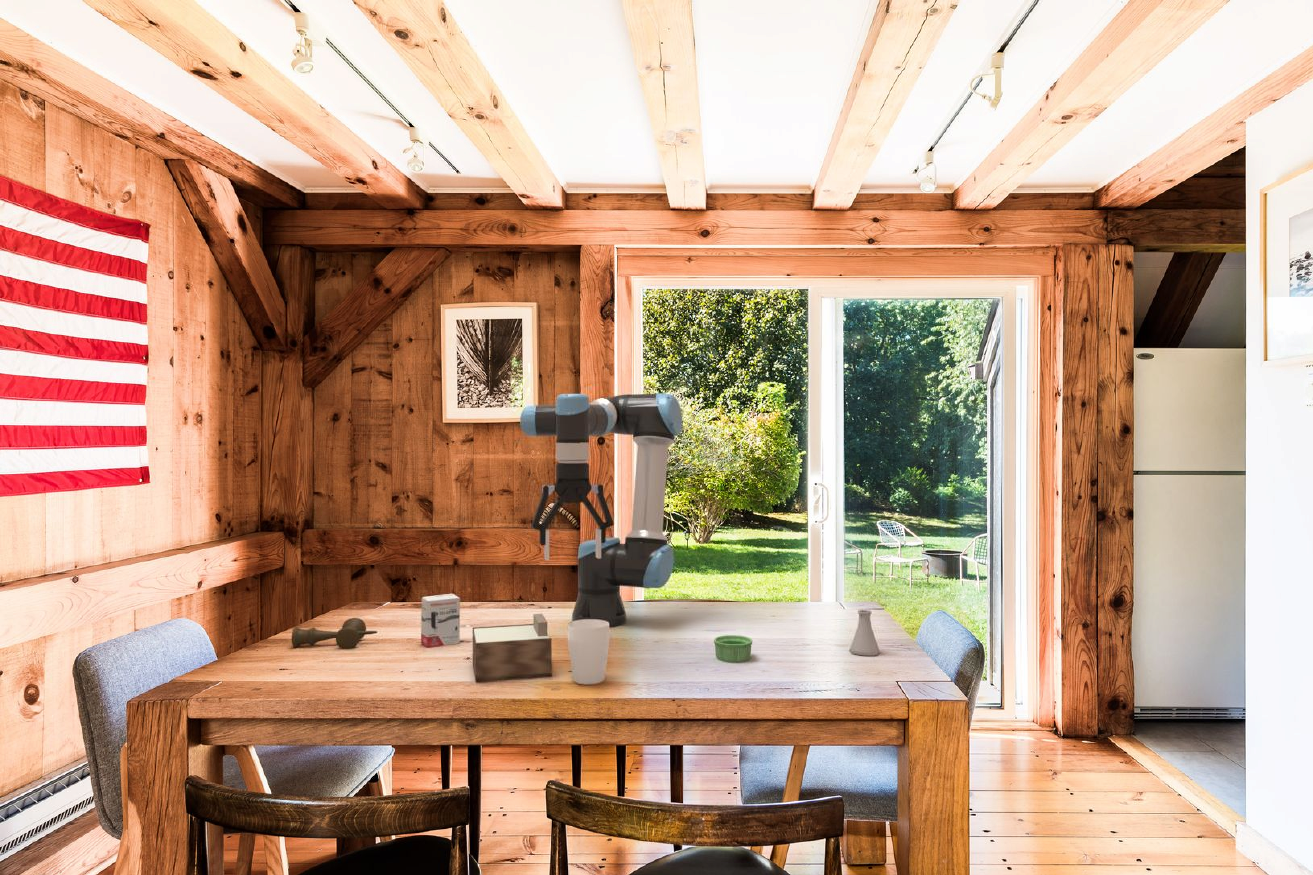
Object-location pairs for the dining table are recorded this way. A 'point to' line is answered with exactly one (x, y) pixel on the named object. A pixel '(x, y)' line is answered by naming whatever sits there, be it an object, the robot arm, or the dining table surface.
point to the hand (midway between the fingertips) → (572, 558)
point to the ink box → (440, 620)
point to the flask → (864, 637)
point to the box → (512, 658)
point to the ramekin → (733, 648)
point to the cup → (588, 650)
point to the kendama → (333, 634)
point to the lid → (514, 631)
